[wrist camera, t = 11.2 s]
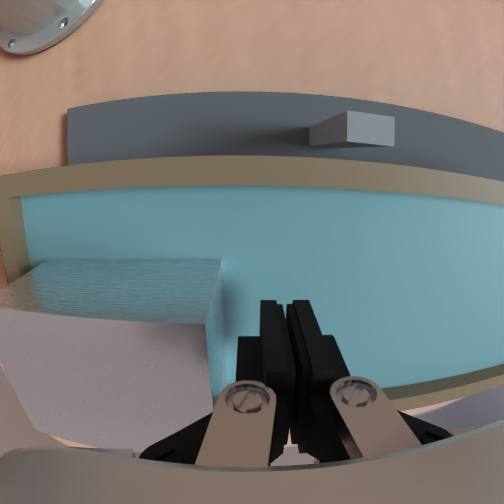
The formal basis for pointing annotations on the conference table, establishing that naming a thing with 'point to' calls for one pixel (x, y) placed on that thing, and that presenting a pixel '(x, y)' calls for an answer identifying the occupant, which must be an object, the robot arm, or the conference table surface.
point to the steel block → (115, 347)
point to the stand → (281, 131)
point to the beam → (299, 252)
